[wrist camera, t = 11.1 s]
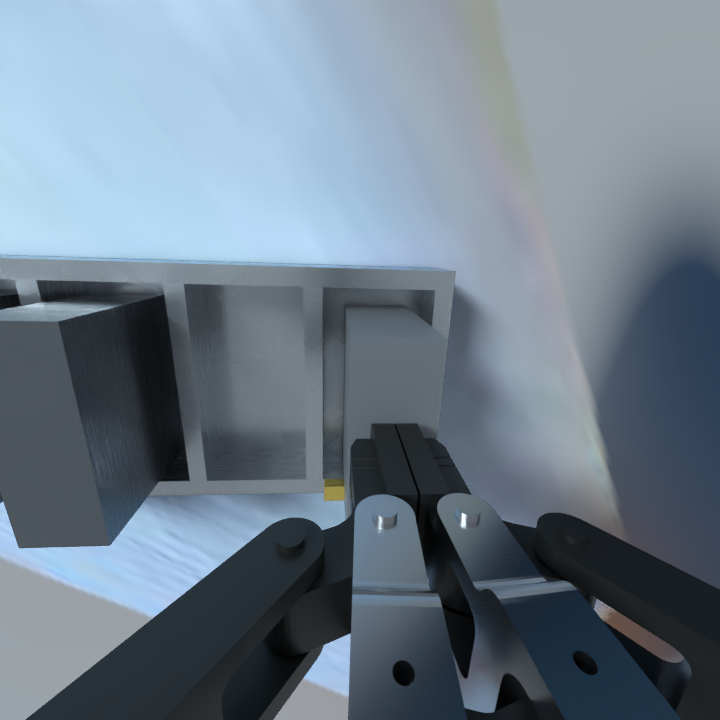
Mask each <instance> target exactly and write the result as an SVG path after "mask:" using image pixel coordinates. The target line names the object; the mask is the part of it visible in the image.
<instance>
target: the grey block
mask: <svg viewBox="0 0 720 720" xmlns="http://www.w3.org/2000/svg"><path fill="white" fill-rule="evenodd" d="M447 342H448V339H447V338H446V337H444V336H443V335H442V334H441V333H439V332H438V331H437V330H435V329H434V328H433V327H432V326H430V325H429V324H428V323H427V322H425V321H424V320H423V319H421V318H420V317H419V316H418V315H416V314H415V313H414V312H412V311H411V310H410V309H409V308H407V307H406V306H405V305H358V304H345V343H344V398H343V470H344V497H345V520H346V519H347V518H348V517H349V516H350V515H351V507H350V490H349V483H350V447H351V446H352V444H353V443H354V441H355V440H356V439H370V431H371V424H372V423H394V424H395V423H417V424H418V426H419V428H420V430H421V432H422V434H423V436H424V438H434V439H436V440H437V433H438V424H439V415H440V406H441V397H442V387H443V378H444V369H445V360H446V351H447Z"/></svg>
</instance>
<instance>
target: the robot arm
mask: <svg viewBox="0 0 720 720" xmlns="http://www.w3.org/2000/svg"><path fill="white" fill-rule="evenodd" d="M349 490H350V507H351V515H350V516H349V517H348V518H347V519H346V520H345V521H344V522H342V523H341V524H339V525H337V526H335V527H332V528H329V529H325V530H321V528H320V527H319V526H318V525H317V524H316V523H314V522H312V521H310V520H308V519H304V518H287V519H283V520H280V521H278V522H276V523H274V524H272V525H270V526H269V527H268V528H266V529H265V530H264V531H263V532H261V533H260V534H259V535H258V536H256V537H255V538H254V539H252V540H251V541H250V542H249V543H247V544H246V545H245V546H244V547H242V548H241V549H240V550H239V551H237V552H236V553H235V554H234V555H232V556H231V557H230V558H229V559H227V560H226V561H225V562H224V563H222V564H221V565H220V566H218V567H217V568H216V569H215V570H213V571H212V572H211V573H210V574H208V575H207V576H206V577H205V578H203V579H202V580H201V581H200V582H198V583H197V584H196V585H195V586H193V587H192V588H191V589H189V590H188V591H187V592H186V593H184V594H183V595H182V596H181V597H179V598H178V599H177V600H176V601H174V602H173V603H172V604H171V605H169V606H168V607H167V608H166V609H164V610H163V611H162V612H161V613H159V614H158V615H157V616H155V617H154V618H153V619H152V620H150V621H149V622H148V623H147V624H146V625H144V626H143V627H142V628H141V629H139V630H138V631H137V632H135V633H134V634H133V635H132V636H130V637H129V638H128V639H127V640H125V641H124V642H123V643H121V644H120V645H119V646H118V647H116V648H115V649H114V650H113V651H111V652H110V653H109V654H108V655H106V656H105V657H104V658H103V659H101V660H100V661H99V662H98V663H96V664H95V665H94V666H93V667H91V668H90V669H89V670H88V671H86V672H85V673H84V674H82V675H81V676H80V677H79V678H78V679H76V680H75V681H74V682H72V683H71V684H70V685H69V686H67V687H66V688H65V689H64V690H62V691H61V692H60V693H58V694H57V695H56V696H55V697H54V698H52V699H51V700H50V701H48V702H47V703H46V704H45V705H43V706H42V707H41V708H40V709H38V710H37V711H36V712H35V713H33V714H32V715H31V716H30V717H28V718H27V719H26V720H273V719H274V718H275V716H276V715H277V714H278V712H279V711H280V709H281V708H282V707H283V705H284V704H285V702H286V701H287V699H288V698H289V697H290V696H291V694H292V693H293V691H294V690H295V689H296V687H297V686H298V684H299V683H300V682H301V680H302V679H303V678H304V676H305V675H306V673H307V672H308V671H309V669H310V668H311V666H312V665H313V664H314V662H315V661H316V660H317V658H318V656H319V655H320V653H321V651H322V648H323V645H325V644H327V643H329V642H331V641H334V640H336V639H338V638H341V637H343V636H345V635H347V634H350V633H351V644H350V675H349V708H348V720H720V590H719V589H717V588H715V587H713V586H711V585H709V584H707V583H705V582H703V581H701V580H699V579H697V578H695V577H694V576H692V575H690V574H688V573H686V572H683V571H682V570H680V569H678V568H676V567H674V566H672V565H670V564H668V563H666V562H664V561H662V560H660V559H658V558H656V557H654V556H652V555H650V554H648V553H646V552H644V551H642V550H640V549H638V548H636V547H634V546H632V545H630V544H628V543H626V542H624V541H623V540H621V539H619V538H617V537H615V536H613V535H611V534H609V533H607V532H605V531H603V530H601V529H599V528H597V527H595V526H593V525H591V524H589V523H587V522H585V521H583V520H581V519H579V518H576V517H574V516H571V515H567V514H563V513H547V514H544V515H542V516H541V517H540V518H539V519H538V522H537V526H536V528H532V527H527V526H523V525H518V524H514V523H509V522H506V521H503V520H501V518H500V517H499V515H498V514H497V513H496V511H495V510H494V509H493V508H492V507H491V506H490V505H489V504H488V503H487V502H485V501H484V500H482V499H480V498H478V497H476V496H473V495H472V494H471V493H470V491H469V489H468V487H467V486H466V484H465V482H464V480H463V478H462V477H461V475H460V473H459V471H458V469H457V468H456V467H455V464H454V462H453V461H452V459H450V455H449V453H448V452H447V450H446V448H445V446H443V445H442V444H441V443H439V442H438V441H437V440H436V439H434V438H424V436H423V434H422V432H421V430H420V428H419V426H418V424H417V423H395V424H394V423H372V424H371V431H370V439H356V440H355V441H354V443H353V444H352V446H351V447H350V483H349ZM427 578H428V579H427ZM596 599H599V600H600V601H602V602H603V603H605V604H607V605H608V606H610V607H611V608H613V609H615V610H616V611H618V612H619V613H621V614H622V615H624V616H626V617H627V618H629V619H630V620H632V621H633V622H635V623H637V624H638V625H640V626H641V627H643V628H645V629H646V630H648V631H649V632H651V633H652V634H654V635H656V636H657V637H659V638H660V639H662V640H664V641H665V642H667V643H669V644H670V645H671V646H673V647H674V648H675V649H676V650H678V651H679V652H680V653H681V654H682V655H683V656H684V659H683V661H681V662H679V663H671V662H667V661H665V660H662V659H660V658H659V657H657V656H655V655H654V654H652V653H651V652H649V651H647V650H646V649H645V648H643V647H642V646H640V645H639V644H637V643H636V642H634V641H633V640H631V639H630V638H628V637H627V636H625V635H624V634H622V633H621V632H619V631H618V630H616V629H615V628H613V627H612V626H610V625H609V624H607V623H606V622H604V621H603V620H602V619H601V618H600V617H599V615H598V614H597V613H596V612H595V610H594V606H595V602H596Z"/></svg>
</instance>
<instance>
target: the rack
mask: <svg viewBox="0 0 720 720" xmlns="http://www.w3.org/2000/svg"><path fill="white" fill-rule="evenodd" d="M455 275H456V271H450V270H444V269H438V268H417V267H384V266H351V265H318V264H285V263H251V262H218V261H185V260H152V259H119V258H86V257H53V256H20V255H0V503H1V502H4V505H5V508H6V511H7V514H8V517H9V520H10V523H11V526H12V529H13V532H14V535H15V538H16V541H17V544H18V547H19V548H43V547H79V546H110V545H111V544H112V542H113V541H114V540H115V538H116V537H117V536H118V535H119V533H120V532H121V531H122V529H123V528H124V527H125V525H126V524H127V523H128V522H129V520H130V519H131V518H132V516H133V515H134V514H135V512H136V511H137V510H138V508H139V507H140V506H141V505H142V503H143V502H144V501H145V499H146V498H147V497H148V496H162V495H217V494H272V493H324V501H335V500H345V497H344V470H343V398H344V343H345V304H358V305H405V306H406V307H407V308H409V309H410V310H411V311H412V312H414V313H415V314H416V315H418V316H419V317H420V318H421V319H423V320H424V321H425V322H427V323H428V324H429V325H430V326H432V327H433V328H434V329H435V330H437V331H438V332H439V333H441V334H442V335H443V336H444V337H446V338H447V339H448V338H449V329H450V320H451V311H452V302H453V293H454V284H455ZM447 347H448V342H447ZM446 356H447V351H446ZM445 365H446V360H445ZM444 374H445V369H444ZM443 383H444V378H443ZM442 392H443V387H442ZM441 401H442V397H441ZM440 410H441V406H440ZM439 419H440V415H439ZM438 428H439V424H438ZM437 437H438V433H437Z"/></svg>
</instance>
